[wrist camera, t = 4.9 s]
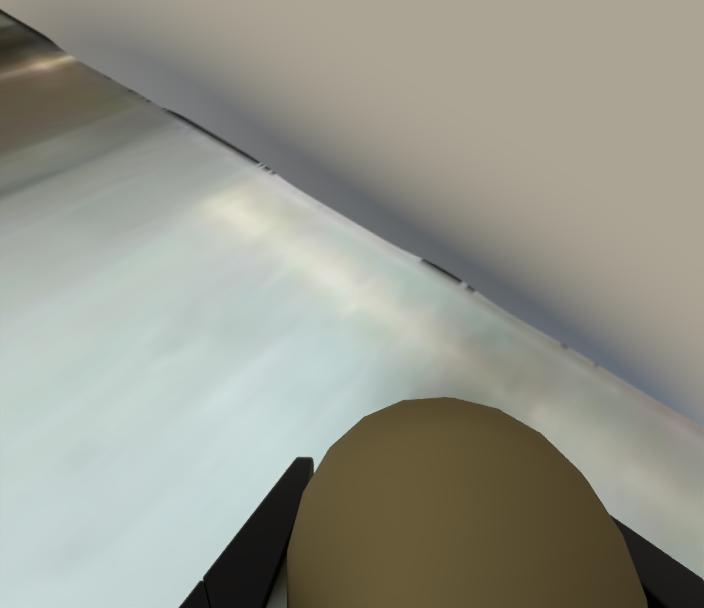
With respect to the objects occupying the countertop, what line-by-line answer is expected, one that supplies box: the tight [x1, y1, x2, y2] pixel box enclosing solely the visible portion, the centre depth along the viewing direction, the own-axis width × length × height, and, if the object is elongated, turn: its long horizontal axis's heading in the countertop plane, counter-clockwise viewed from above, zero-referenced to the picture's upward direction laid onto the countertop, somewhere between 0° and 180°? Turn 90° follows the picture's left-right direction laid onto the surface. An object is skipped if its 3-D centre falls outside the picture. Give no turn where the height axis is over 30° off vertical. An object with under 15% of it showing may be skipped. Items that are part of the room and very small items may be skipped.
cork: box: [287, 397, 648, 608], centre depth 9 cm, size 6×6×11 cm
